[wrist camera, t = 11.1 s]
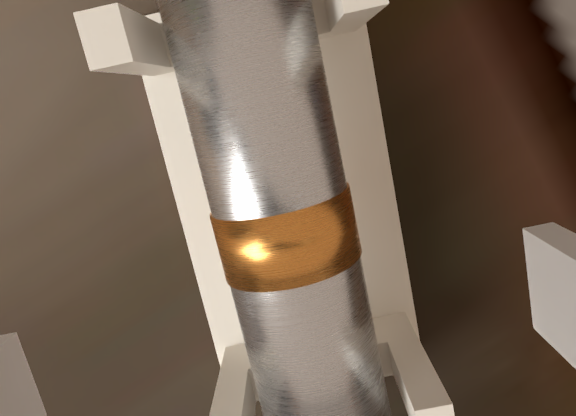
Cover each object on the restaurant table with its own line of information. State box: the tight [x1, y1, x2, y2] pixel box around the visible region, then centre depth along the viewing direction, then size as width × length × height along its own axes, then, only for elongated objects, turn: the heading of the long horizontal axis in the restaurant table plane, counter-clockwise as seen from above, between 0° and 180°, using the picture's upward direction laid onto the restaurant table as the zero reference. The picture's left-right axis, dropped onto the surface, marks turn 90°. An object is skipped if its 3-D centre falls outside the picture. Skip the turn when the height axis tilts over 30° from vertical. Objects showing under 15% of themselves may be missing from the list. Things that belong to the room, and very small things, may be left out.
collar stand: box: [73, 0, 454, 416], centre depth 25 cm, size 22×12×10 cm, turn 12°
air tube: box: [156, 0, 391, 416], centre depth 23 cm, size 26×6×6 cm, turn 12°
